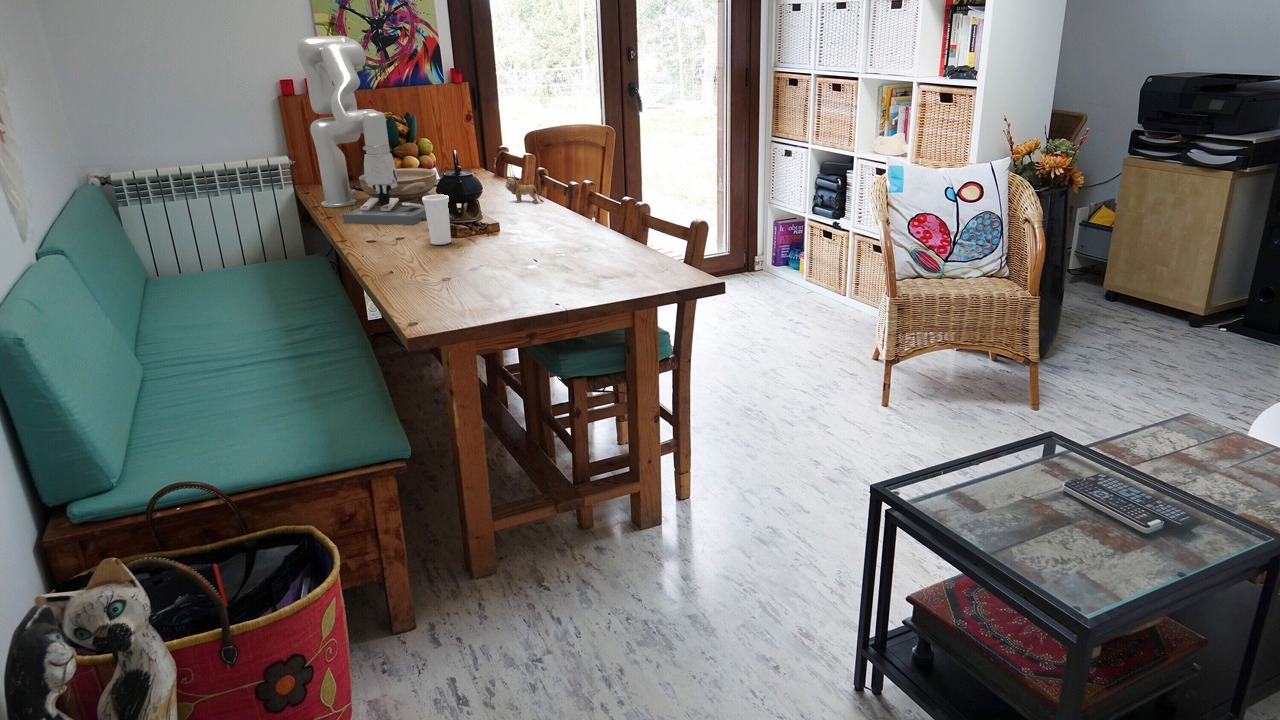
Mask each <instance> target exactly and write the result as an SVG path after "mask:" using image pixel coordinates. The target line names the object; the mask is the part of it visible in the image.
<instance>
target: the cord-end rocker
mask: <svg viewBox="0 0 1280 720" xmlns="http://www.w3.org/2000/svg"><path fill="white" fill-rule="evenodd" d="M401 206H404V207H422V204H421V203H415V202H412V203H402V204H401Z"/></svg>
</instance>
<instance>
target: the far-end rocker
mask: <svg viewBox="0 0 1280 720" xmlns="http://www.w3.org/2000/svg"><path fill="white" fill-rule="evenodd" d="M378 201H379V199H378V198H375V197H369V198H368V199H367V201H366V202H364V204H363V205H361V206H360V207H359V208H360V209H361V210H369V209H370V208H371V207H372V206H374V205H375V204H376V203H377V202H378Z"/></svg>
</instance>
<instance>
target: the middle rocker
mask: <svg viewBox="0 0 1280 720" xmlns="http://www.w3.org/2000/svg"><path fill="white" fill-rule="evenodd" d="M398 201H399V199H398V198H390V201H389V204H387V205H382V206H383V207H382V208H381V211H390V210H391V209H392V208H393V207H395V206H396V205H397V204H396V203H397V202H398Z"/></svg>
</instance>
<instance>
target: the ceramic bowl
mask: <svg viewBox="0 0 1280 720" xmlns="http://www.w3.org/2000/svg"><path fill="white" fill-rule="evenodd" d="M396 172H397V185H398V186H397V187H395V188H392V189H391V190H390V192H389V199H390V198H398V199H399V201H398V202H397V203H396V204H395V205H402V203H415V202H418V201H419V200H420V198H419V197H423V195H425V194H427V193H429V192H430V191H431V190H433V189H434V187H435V185H436V183H437V171H436V170H434V169H431V168H430V169H429V168H421V167H417V168H416V167H415V168H414V167H411V168H410V167H409V168H396ZM358 181H359V185H360V187H361V189H362V190H363V191H364V193H365V194H366V195H369V196H370V197H371V198H378V200H379V193H377V191H376V190H375V189H374V188H372V187H368V184H367V183H366V182H365V175H364V174H361V175H359V177H358ZM390 185H391V184H390Z"/></svg>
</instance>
